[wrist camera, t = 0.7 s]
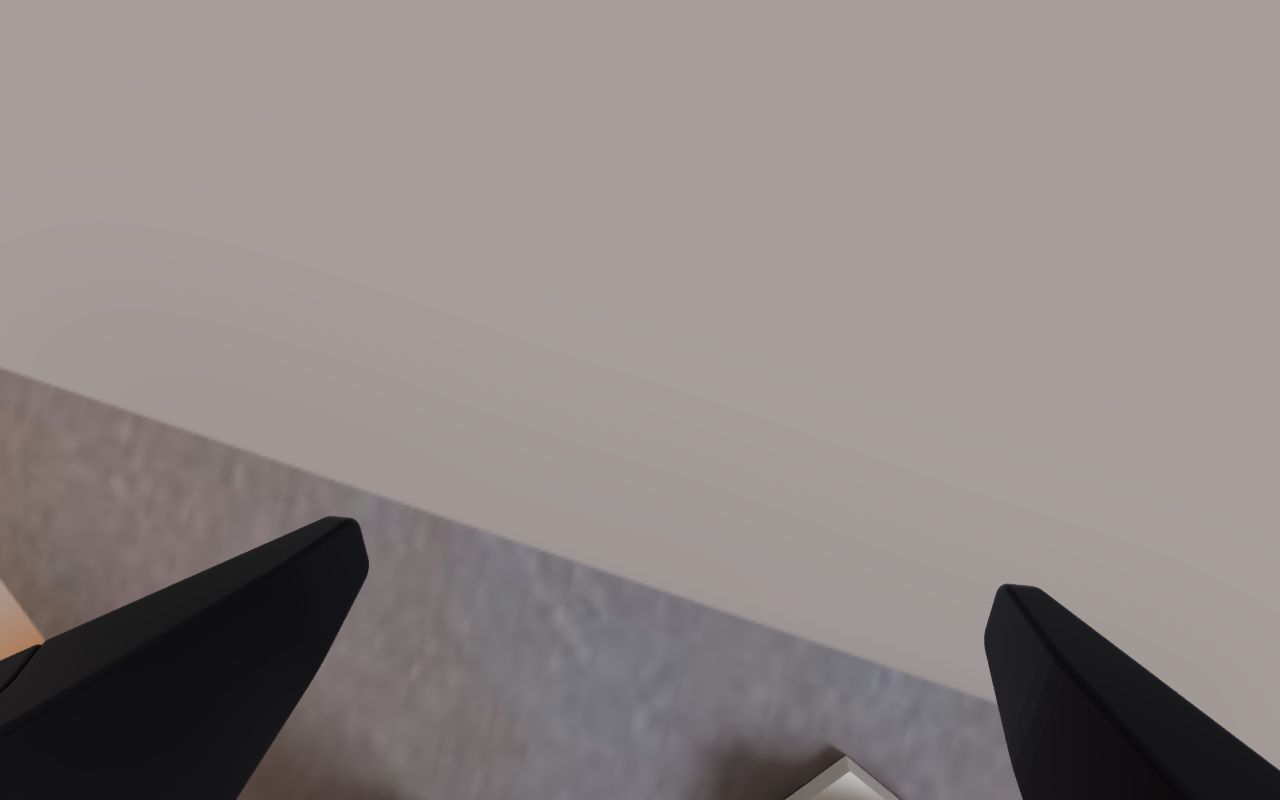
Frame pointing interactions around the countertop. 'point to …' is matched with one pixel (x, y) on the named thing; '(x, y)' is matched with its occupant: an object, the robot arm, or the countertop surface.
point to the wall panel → (843, 785)
